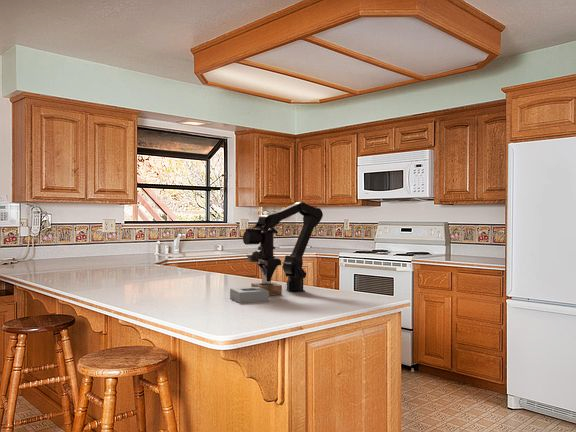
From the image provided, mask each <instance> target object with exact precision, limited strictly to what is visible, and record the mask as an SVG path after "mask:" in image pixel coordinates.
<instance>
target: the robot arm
mask: <svg viewBox="0 0 576 432" xmlns="http://www.w3.org/2000/svg"><path fill="white" fill-rule="evenodd" d="M298 213H299V215H301V216H303V217H302V221H303V225H302V228H301V230H300V233H299V234H298V238H297V240H296V242H295V245H294V247H293V249H292V253H290V255H285V257H284V259H283V262H282V260H281V258H278V257H276V256H275V255H274V250H275V249H276V246H274V237H275V236H274V235H275V234H279V231H278V230H276V228H275V227H276V226H277V225H279V224H280V222H282V221H283V220H285V219H287V218H289V217H292V216H293V215H297V214H298ZM323 217H324V213H323V211H322V209H321V208H319V207H315V206H312V205H310V204H307V203H305V202H304V201H297V202H295V203H293V204H291V205H289V206H287V207H284V208H282V209H280V210H278V211H274V212H270V213H265V214H261V215H260V216H259V217H258V220H257V222H256V224H255V225H254V227H253V228H247V227H246V228H245V231H244V233H243V236H242V242H243V244H245V245H247V246H248V245H251V246H253V245H259V246H258V247H257V250H253V251H252V252H249V253H247V254H246V258H247V260H248V262H250V263H255V265H256V266H258V267H259V269H260V273H261V274H262V270H261V268H263V267H264V268H265V270H266V278H267V281H270V279H271V280H272V278H273V275H274V272H275V271H276V269H277V267H279V266H282V270H283V272H284V274H285V277H287V280H286V290H285V291H287V292H290V293H303V292H306V290H304V279H305V278H306V277H307V272H306V271H305V270H304V269H303V264H304V263H303V261H304V259H303V256H304V254H305V251H306V248H307V245H308V244H309V241H310V239H311V236H312V233H313V231H314V229H315V228H316V227H317V226H318V224H320V222H321V220H322V219H323Z"/></svg>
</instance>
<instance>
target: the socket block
mask: <svg viewBox="0 0 576 432" xmlns="http://www.w3.org/2000/svg"><path fill="white" fill-rule="evenodd" d="M229 298H230V300H232V301H235V302H236V303H239V304H245V303H260V302H269V301H270V299H269V298H270V295H269V291H268V290H265V289H262V288H260V287H251V286H249V287H247V286H246V287H230V288H229Z"/></svg>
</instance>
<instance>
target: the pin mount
mask: <svg viewBox="0 0 576 432" xmlns="http://www.w3.org/2000/svg"><path fill="white" fill-rule="evenodd" d="M250 285H251V286H250V287H260V288H262V289H265V290H268V291H269V296H282V295H283V292H282V291H283V287H282V286H283V285H282V284H279V283H276V282H272V281H271V285H262V282H254V283H251V284H250Z"/></svg>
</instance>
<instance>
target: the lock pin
mask: <svg viewBox="0 0 576 432" xmlns="http://www.w3.org/2000/svg"><path fill="white" fill-rule="evenodd" d="M261 270H262V273H261V283H262V285H271V282H272V278H271V279H270V281H267V278H266V270H265V268H264V267H263V268H261V269H260V271H261Z"/></svg>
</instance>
